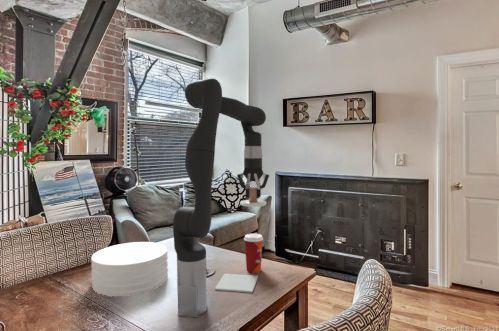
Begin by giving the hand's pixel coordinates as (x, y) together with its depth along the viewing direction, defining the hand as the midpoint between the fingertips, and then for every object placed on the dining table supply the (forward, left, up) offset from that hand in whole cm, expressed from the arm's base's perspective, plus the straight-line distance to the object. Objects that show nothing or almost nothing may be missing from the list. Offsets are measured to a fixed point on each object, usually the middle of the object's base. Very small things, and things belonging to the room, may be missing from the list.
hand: (253, 197), depth 134 cm
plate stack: (-18, +46, -31) cm, 59 cm away
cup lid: (0, 0, -3) cm, 3 cm away
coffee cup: (0, 0, -31) cm, 31 cm away
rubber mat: (-14, +4, -31) cm, 34 cm away
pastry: (-6, +22, -32) cm, 39 cm away
